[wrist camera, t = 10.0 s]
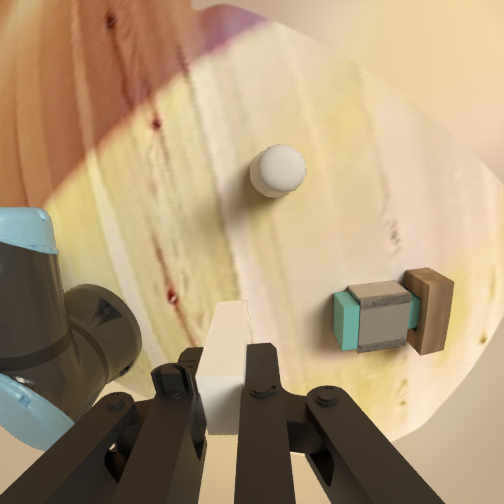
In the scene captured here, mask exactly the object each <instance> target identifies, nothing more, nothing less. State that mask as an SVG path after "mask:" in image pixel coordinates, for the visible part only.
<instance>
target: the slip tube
mask: <svg viewBox="0 0 504 504" xmlns="http://www.w3.org/2000/svg"><path fill="white" fill-rule="evenodd" d="M408 292H410V293H411V304H410V313H409V322H408V329H411V328H416V327H417V324H418V316H419V307H420V297H418V296H417V295H416V294H414V293H413V292H412V291H410V290H409V291H408ZM359 311H360V306H359V304H358V303H357V302H356V301H355V299H354V298H353V297H352V296H351V295H350V293H349V292H348V291H347V292H338V293H334V322H333V333H334V335H335V337H336V339H337V341H338V343H339V345H340V347H341V349H342V351H344V350H351V349H357V345H358V330H359Z"/></svg>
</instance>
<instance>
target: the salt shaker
mask: <svg viewBox="0 0 504 504" xmlns="http://www.w3.org/2000/svg"><path fill="white" fill-rule="evenodd" d="M249 170H250V181H251V182H252V184H253V185H254V187H255V189H256V190H257V191H258V192H260V193H261V194H263V195H264V196H266V197H275V198H278V197H281V196H285V195H288V194H289V193H290V192H291V191H295V190H296V189H297V188H298V187H299V186H300V185H301V184H302V183H303V180H304V178H305V175H306V163H305V160H304V158H303V157H302V155H301V153H300V152H299V151H297V150H296V149H294V148H293V147H291V146H288V145H281V144H278V145H275V146H272V147H269V148H267V149H266V150H264V151H261V152H260V153H259V154H258V155H257V156H256V157H255V158H254V159H253V161H252V164H251V167H250V169H249Z"/></svg>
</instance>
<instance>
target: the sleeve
mask: <svg viewBox="0 0 504 504" xmlns="http://www.w3.org/2000/svg"><path fill="white" fill-rule="evenodd" d="M348 292H349V293H350V295H351V296H352V297H353V298H354V299H355V301H356V302H357V303H358V304H359V306H360V311H359V330H358V345H357V349H355V350H356V351H357V353H364V352H370V351H376V350H382V349H388V348H393V347H398V346H403V345H406V338H407V330H408V322H409V313H410V304H411V293H410V292H408V291H407V290H406V289H404V288H403V287H402V286H401V285H399V284H398V283H397V282H395V281H386V282H378V283H369V284H360V285H351V286H348Z"/></svg>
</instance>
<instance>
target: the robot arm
mask: <svg viewBox="0 0 504 504" xmlns="http://www.w3.org/2000/svg"><path fill="white" fill-rule="evenodd" d="M58 254H59V250H58V249H57V248H56V243H55V237H54V230H53V224H52V220H51V217H50V215H49V214H48V213H47V212H46V211H45V210H43V209H41V208H38V207H0V425H1V426H2V427H3V428H5V430H7V431H8V432H9V433H10V434H12V435H13V436H14V437H15V438H17V439H19V440H20V441H22V442H23V443H25V444H27V445H29V446H31V447H33V448H36V449H39V450H42V451H46V452H45V453H44V454H43V455H42V456H41V457H40V458H39V459H38V460H36V461H35V462H34V463H33V464H32V465H31V466H30V467H29V468H28V469H27V470H26V471H25V472H24V473H23V474H22V475H21V476H20V477H19V478H18V479H17V480H16V481H15V482H14V483H13V484H12V485H10V486H9V487H8V488H7V489H6V490H5V491H4V492H3V493H2V494H1V495H0V504H198V499H199V492H200V486H201V480H202V474H203V467H204V461H205V455H206V449H207V441H206V437H205V431H206V426H207V430H208V434H209V435H238V447H237V463H236V478H235V494H234V504H296V502H295V492H294V483H293V474H292V466H291V457H290V452H297V453H305V457H306V459H307V461H308V462H309V464H310V466H311V468H312V470H313V472H314V473H315V475H316V477H317V479H318V481H319V482H320V484H321V486H322V488H323V489H324V491H325V493H326V495H327V497H328V498H329V500H330V502H331V504H445V503H444V502H443V501H442V500H441V498H440V497H439V496H438V495H437V494H436V493H435V492H434V491H433V490H432V489H431V487H430V486H429V485H428V484H427V483H426V482H425V481H424V480H423V479H422V477H421V476H420V475H419V474H418V473H417V472H416V471H415V470H414V469H413V467H412V466H411V465H410V464H409V463H408V462H407V461H406V460H405V459H404V457H403V456H402V455H401V454H400V453H399V452H398V451H397V450H396V448H395V447H394V446H393V445H392V444H391V443H390V442H389V440H388V439H387V438H386V437H385V436H384V435H383V434H382V433H381V431H380V430H379V429H378V428H377V427H376V426H375V425H374V423H373V422H372V421H371V420H370V419H369V418H368V417H367V415H366V414H365V413H364V412H363V411H362V410H361V408H360V407H359V406H358V405H357V404H356V403H355V402H354V400H353V399H352V398H351V397H350V396H349V395H348V393H347V392H346V391H344V390H343V389H342V388H339V387H336V386H327V385H326V386H320V387H317V388H314V389H312V390H311V391H310V392H309V393H308V394H307V396H300V395H295V394H292V393H289V392H287V391H286V390H284V389H283V387H282V386H281V382H280V374H279V366H278V358H277V350H276V348H275V347H274V346H273V345H272V344H271V343H260V344H251V336H250V326H249V315H248V305H247V300H240V301H225V302H217V305H216V308H215V312H214V315H213V318H212V322H211V325H210V328H209V332H208V335H207V339H206V342H205V345H204V347H197V348H187V349H186V350H185V351H183V352H182V353H181V354H180V357H179V359H178V362H177V363H167V364H164V365H160V366H158V367H157V368H155V369H154V370H153V371H152V372H151V376H152V380H153V383H154V387H155V390H156V395H155V397H154V398H153V399H149V400H144V401H138V402H134V399H133V398H132V396H131V395H129V394H127V393H125V392H114V393H110V394H108V395H105V396H104V397H102V398H101V399H100V400H99V401H98V402H97V403H96V404H95V405H94V406H93V407H92V405H93V404H94V402H95V400H96V399H97V397H98V396H99V394H100V392H101V391H102V389H103V388H104V386H105V385H106V384H108V383H110V382H111V381H113V380H115V379H117V378H119V377H120V376H122V375H124V374H125V373H127V372H128V371H129V370H130V369H131V368H132V366H133V365H134V363H135V362H136V360H137V358H138V356H139V354H140V351H141V345H142V339H141V332H140V328H139V325H138V323H137V320H136V318H135V316H134V315H133V313H132V311H131V310H130V309H129V307H128V306H127V305H126V304H125V303H124V302H123V301H122V300H121V299H120V298H119V297H118V296H117V295H115V294H114V293H112V292H111V291H109V290H107V289H105V288H103V287H100V286H97V285H91V284H83V285H78V286H76V287H73V288H72V289H70V290H69V291H67V292H66V293H64V292H63V287H62V281H61V275H60V269H59V263H58V256H57V255H58ZM91 407H92V408H91ZM90 408H91V409H90ZM113 444H115V447H114V448H113V449H112V450H110V449H109V448H110V447H111V446H112V445H113Z"/></svg>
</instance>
